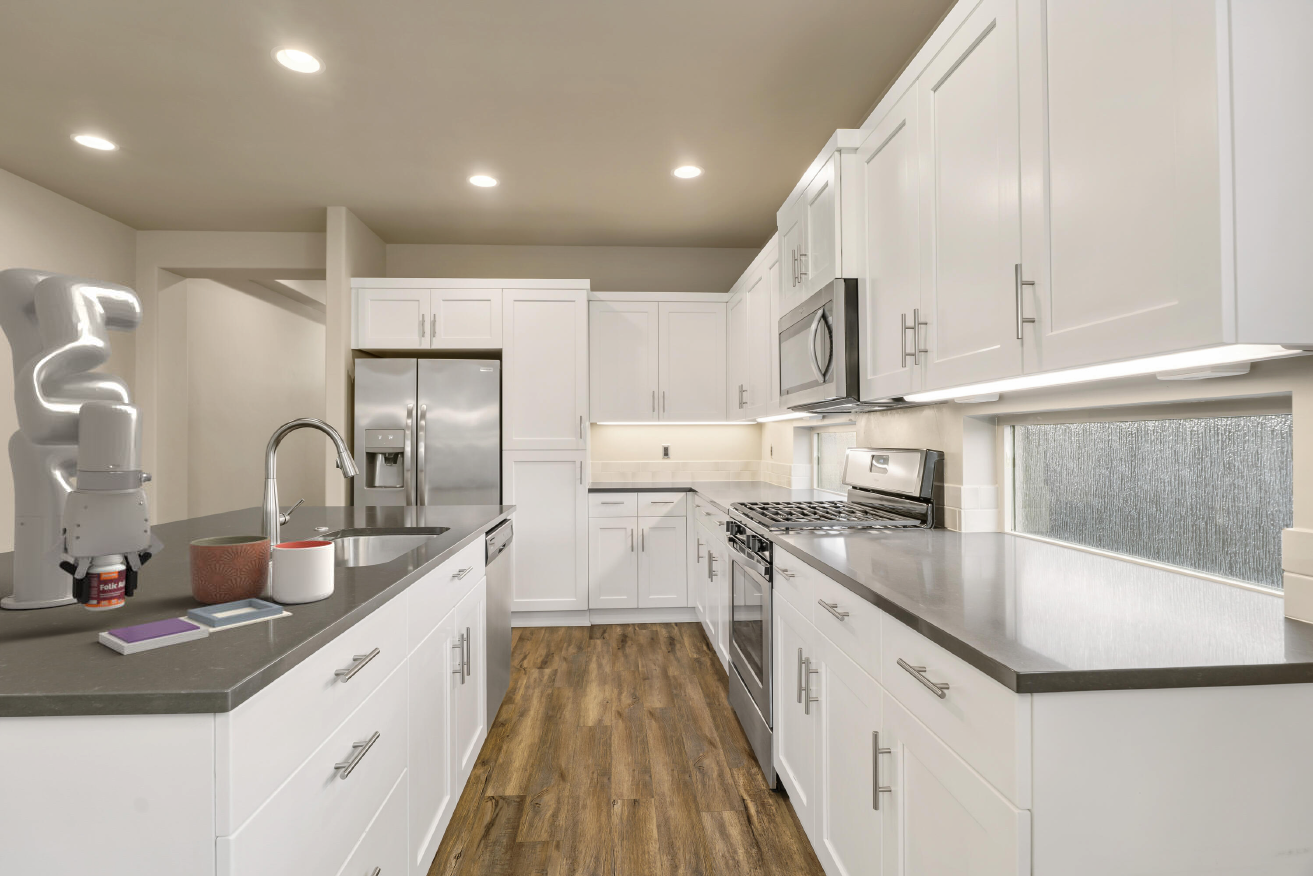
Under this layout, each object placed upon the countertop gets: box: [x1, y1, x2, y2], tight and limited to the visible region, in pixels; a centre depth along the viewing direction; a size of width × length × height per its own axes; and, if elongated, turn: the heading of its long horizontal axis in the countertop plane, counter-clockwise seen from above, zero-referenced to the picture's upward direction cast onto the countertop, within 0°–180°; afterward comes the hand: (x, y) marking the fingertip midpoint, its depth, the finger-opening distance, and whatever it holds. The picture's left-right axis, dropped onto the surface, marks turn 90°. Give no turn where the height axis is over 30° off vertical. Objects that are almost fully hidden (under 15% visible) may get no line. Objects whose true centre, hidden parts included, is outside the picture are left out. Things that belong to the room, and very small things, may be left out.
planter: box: [188, 534, 271, 605], centre depth 117 cm, size 12×12×11 cm
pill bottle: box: [84, 554, 126, 612], centre depth 99 cm, size 5×5×8 cm
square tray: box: [179, 597, 293, 634], centre depth 105 cm, size 12×12×2 cm
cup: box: [271, 540, 335, 605], centre depth 118 cm, size 10×10×10 cm
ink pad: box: [98, 617, 210, 656], centre depth 93 cm, size 10×10×2 cm
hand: (105, 597), depth 99 cm, fingers closed on pill bottle, 4 cm apart
